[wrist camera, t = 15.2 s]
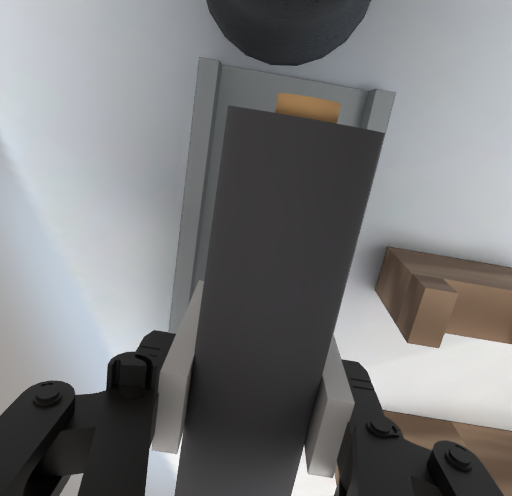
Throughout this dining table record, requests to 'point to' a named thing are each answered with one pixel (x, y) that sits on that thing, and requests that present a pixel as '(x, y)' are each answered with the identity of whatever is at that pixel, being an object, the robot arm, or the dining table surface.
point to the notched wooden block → (461, 443)
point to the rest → (445, 297)
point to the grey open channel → (211, 141)
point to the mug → (287, 27)
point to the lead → (272, 291)
